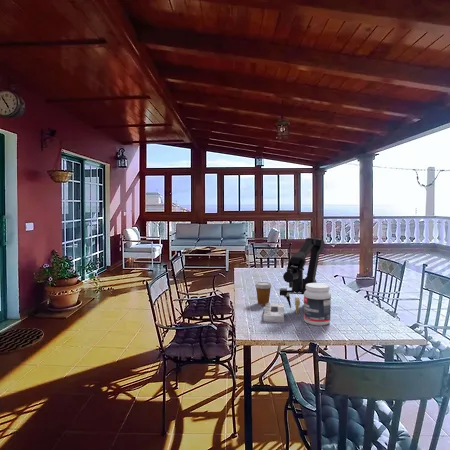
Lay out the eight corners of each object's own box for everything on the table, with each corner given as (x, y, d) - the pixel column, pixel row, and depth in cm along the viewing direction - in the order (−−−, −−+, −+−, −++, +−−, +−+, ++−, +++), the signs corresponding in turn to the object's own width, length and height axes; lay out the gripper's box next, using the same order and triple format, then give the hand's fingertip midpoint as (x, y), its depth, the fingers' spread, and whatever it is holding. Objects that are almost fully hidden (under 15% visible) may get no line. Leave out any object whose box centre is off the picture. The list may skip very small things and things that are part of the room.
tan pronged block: (299, 310, 195) (299, 297, 195) (299, 314, 189) (299, 300, 188) (294, 310, 196) (294, 297, 195) (295, 313, 189) (295, 300, 189)
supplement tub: (298, 322, 175) (298, 285, 174) (312, 316, 184) (312, 281, 183) (321, 328, 166) (322, 289, 165) (335, 322, 175) (336, 285, 174)
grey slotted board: (284, 308, 198) (284, 303, 198) (284, 322, 175) (284, 316, 174) (265, 308, 200) (265, 302, 200) (263, 321, 176) (263, 315, 176)
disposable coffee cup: (258, 306, 203) (258, 285, 203) (252, 302, 212) (252, 282, 212) (274, 305, 206) (274, 284, 205) (267, 301, 215) (267, 281, 214)
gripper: (313, 277, 198) (313, 304, 199) (279, 276, 201) (279, 303, 202) (315, 281, 187) (315, 310, 188) (279, 280, 190) (279, 309, 191)
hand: (297, 308), depth 192 cm, fingers open, 7 cm apart
